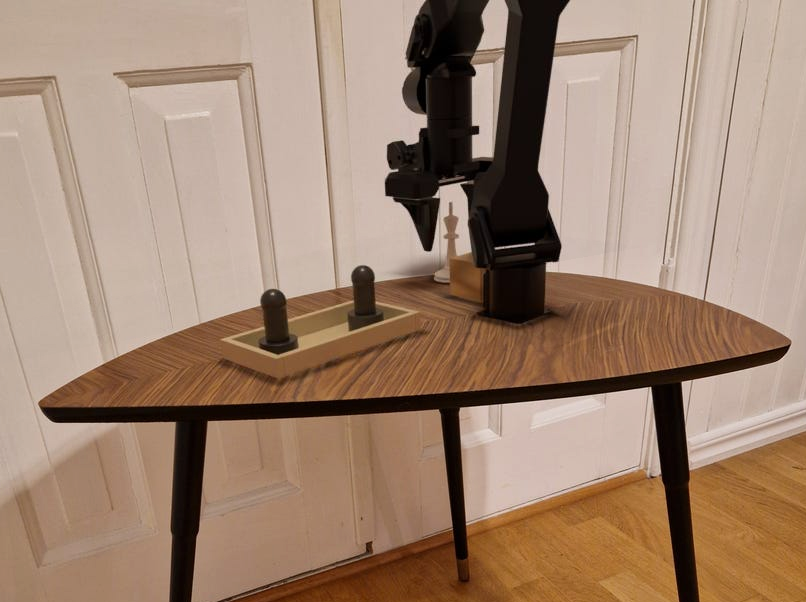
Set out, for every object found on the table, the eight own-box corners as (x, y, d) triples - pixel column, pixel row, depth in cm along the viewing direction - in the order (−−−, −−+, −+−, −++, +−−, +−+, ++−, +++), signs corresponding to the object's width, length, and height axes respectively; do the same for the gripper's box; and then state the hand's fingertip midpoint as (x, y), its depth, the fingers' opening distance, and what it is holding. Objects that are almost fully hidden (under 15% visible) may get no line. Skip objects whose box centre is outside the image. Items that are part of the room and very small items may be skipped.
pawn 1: (307, 356, 83) (300, 287, 79) (276, 367, 80) (267, 296, 77) (283, 348, 85) (276, 281, 82) (252, 358, 83) (243, 290, 80)
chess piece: (470, 273, 113) (469, 198, 108) (469, 282, 108) (469, 204, 104) (435, 274, 113) (433, 200, 108) (432, 283, 109) (430, 206, 104)
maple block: (506, 295, 102) (506, 255, 99) (480, 304, 99) (480, 263, 96) (475, 289, 105) (475, 250, 103) (449, 298, 102) (449, 258, 100)
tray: (363, 318, 96) (361, 297, 95) (421, 333, 90) (420, 311, 88) (223, 362, 84) (219, 339, 83) (279, 383, 78) (276, 358, 77)
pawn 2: (391, 328, 90) (388, 264, 87) (365, 337, 88) (360, 271, 84) (367, 322, 93) (363, 259, 89) (341, 330, 90) (335, 266, 87)
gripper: (452, 111, 112) (453, 227, 119) (351, 123, 101) (360, 250, 108) (515, 112, 105) (513, 235, 112) (414, 125, 94) (419, 261, 101)
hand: (451, 245), depth 108 cm, fingers open, 9 cm apart
